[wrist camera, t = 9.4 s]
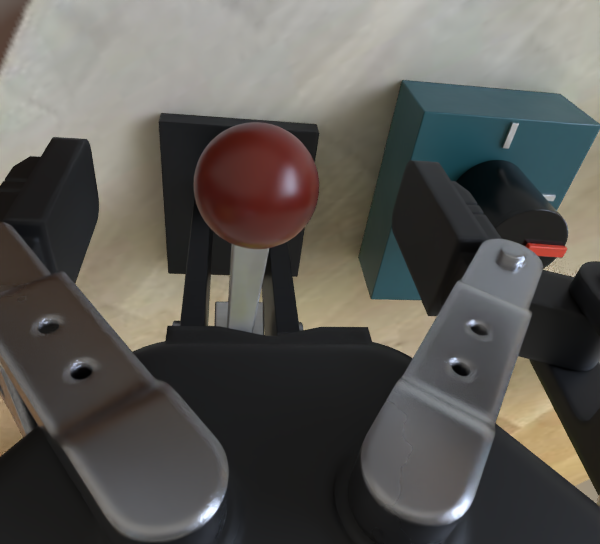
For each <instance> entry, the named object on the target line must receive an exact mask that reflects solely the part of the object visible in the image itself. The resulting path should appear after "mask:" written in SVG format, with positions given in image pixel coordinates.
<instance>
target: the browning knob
mask: <svg viewBox="0 0 600 544" xmlns="http://www.w3.org/2000/svg"><path fill="white" fill-rule="evenodd" d="M456 182H457V183H458V184H460V185H461V186H462V187H464V188H465V189H466V190H468V191H469V192H470V193H471V195H472V196H473V198H474V199H475V201H476V202H477V205H479V206H480V208H481V209H482V211H483V212H484V215H486V216H487V218H488V219H489V221H490V222H491V224H492V225H493V226H494V228H495V229H496V231H497V232H498V234H499V235H500V237H501V238H502V239H505V240H510V241H513V242H516V243H519V244H521V245H523V246H525V247H527V248H528V249H530V250H531V251H533V252H534V253H535V254H536V255H537V256H538V257H539V258H540V260H541V261H542V264H543V269H544V268H545V267H546V266H548V265H549V264H550V263H552V262H553V261H554V260H555V259H556V258H557V257H561V258H562V257H563V256H564V254H565V252H566V251H567V248H566V247H565V244H566V241H567V238H568V227H567V223H566V222H565V220H564V219H563V217H562V216H561V215H560V214H559V213H558V212H557V211H556V209H555V208H554V207H553V206H552V205H551V204H550V203H549V202H548V200H547V199H546V198H545V197H544V196H543V195H542V194H541V192H540V191H539V190H538V189H537V188H536V187H535V186H534V184H533V183H532V182H531V181H530V180H529V179H528V178H527V177H526V175H525V174H524V173H523V172H522V171H521V170H520V169H519V167H518V166H516V165H515V164H513V163H511V162H509V161H505V160H490V161H485V162H482V163H479V164H477V165H475V166H473V167H471V168H470V169H468V170H467V171H466V172H464V173H463V174H462V175H461V176H460V177H459V178H458V180H457V181H456Z"/></svg>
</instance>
